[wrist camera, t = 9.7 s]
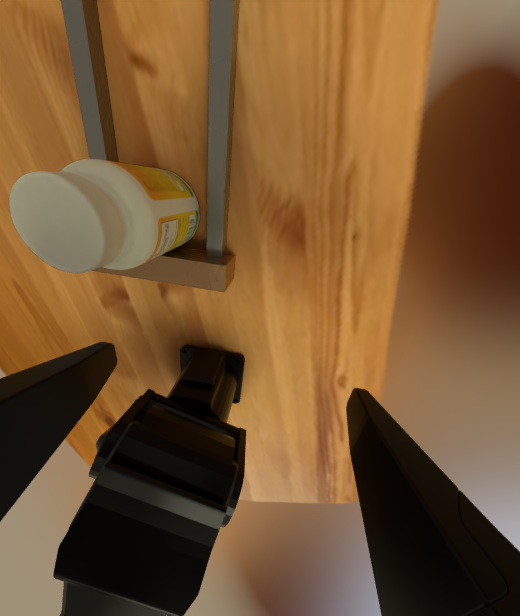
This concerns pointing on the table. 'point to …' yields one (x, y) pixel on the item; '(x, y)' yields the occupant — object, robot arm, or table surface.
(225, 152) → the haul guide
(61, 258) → the supplement bottle
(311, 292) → the table surface
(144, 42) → the table surface
